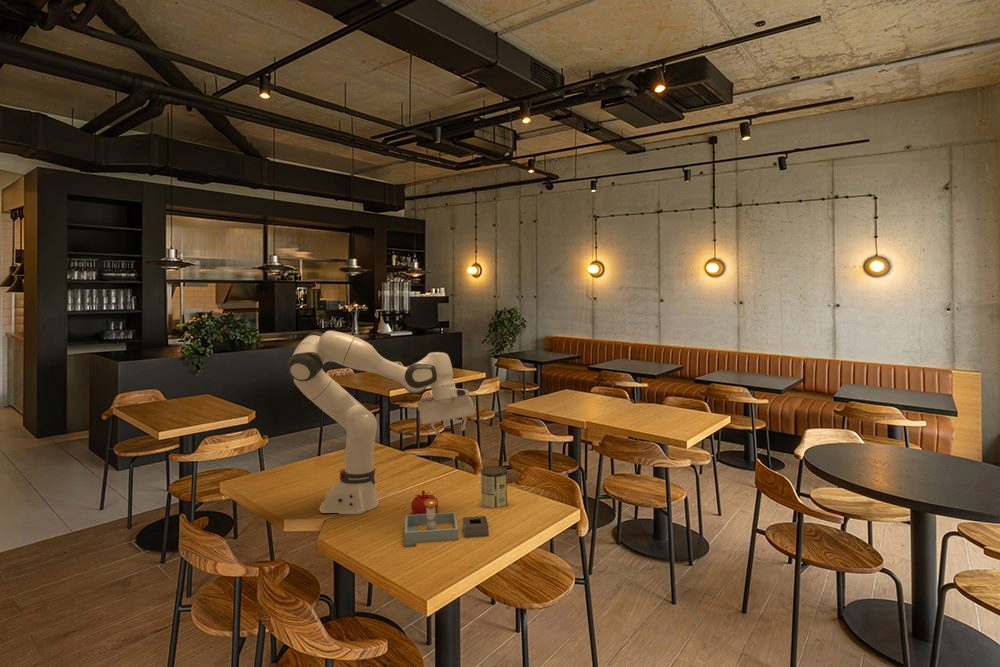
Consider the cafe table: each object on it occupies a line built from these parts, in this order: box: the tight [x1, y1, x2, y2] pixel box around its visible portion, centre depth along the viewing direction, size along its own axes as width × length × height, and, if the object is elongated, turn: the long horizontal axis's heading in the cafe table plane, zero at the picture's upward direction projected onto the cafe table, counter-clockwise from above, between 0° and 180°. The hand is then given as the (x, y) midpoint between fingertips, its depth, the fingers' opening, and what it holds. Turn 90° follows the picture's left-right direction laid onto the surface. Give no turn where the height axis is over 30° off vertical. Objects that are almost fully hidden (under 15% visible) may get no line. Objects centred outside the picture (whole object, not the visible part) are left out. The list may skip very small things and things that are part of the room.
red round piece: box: [410, 490, 439, 515], centre depth 200 cm, size 10×10×9 cm
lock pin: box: [424, 499, 437, 530], centre depth 183 cm, size 4×4×11 cm
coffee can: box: [480, 465, 508, 509], centre depth 209 cm, size 10×10×14 cm
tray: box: [404, 511, 459, 547], centre depth 183 cm, size 18×15×4 cm
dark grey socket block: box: [462, 515, 489, 538], centre depth 183 cm, size 8×8×4 cm
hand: (450, 432), depth 195 cm, fingers open, 8 cm apart
